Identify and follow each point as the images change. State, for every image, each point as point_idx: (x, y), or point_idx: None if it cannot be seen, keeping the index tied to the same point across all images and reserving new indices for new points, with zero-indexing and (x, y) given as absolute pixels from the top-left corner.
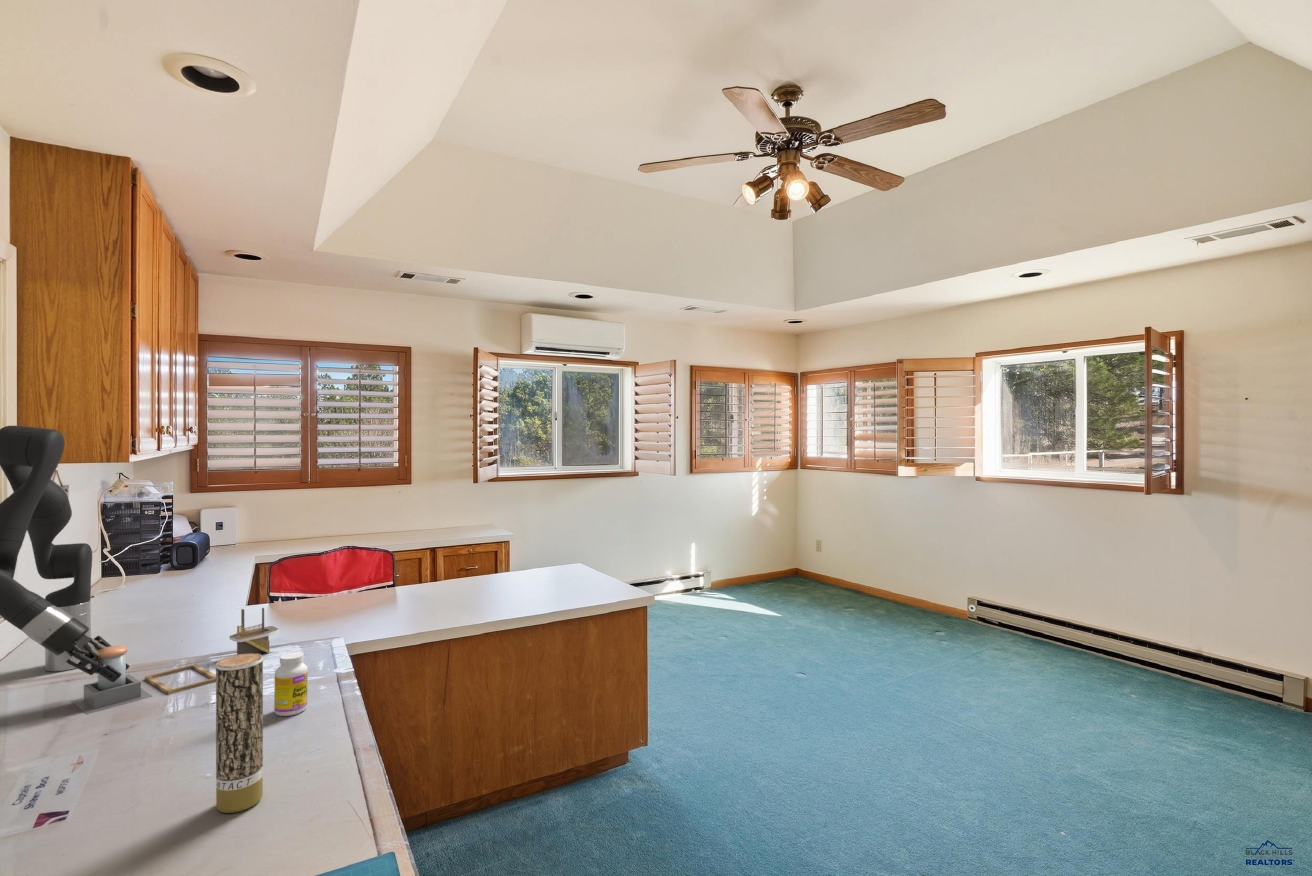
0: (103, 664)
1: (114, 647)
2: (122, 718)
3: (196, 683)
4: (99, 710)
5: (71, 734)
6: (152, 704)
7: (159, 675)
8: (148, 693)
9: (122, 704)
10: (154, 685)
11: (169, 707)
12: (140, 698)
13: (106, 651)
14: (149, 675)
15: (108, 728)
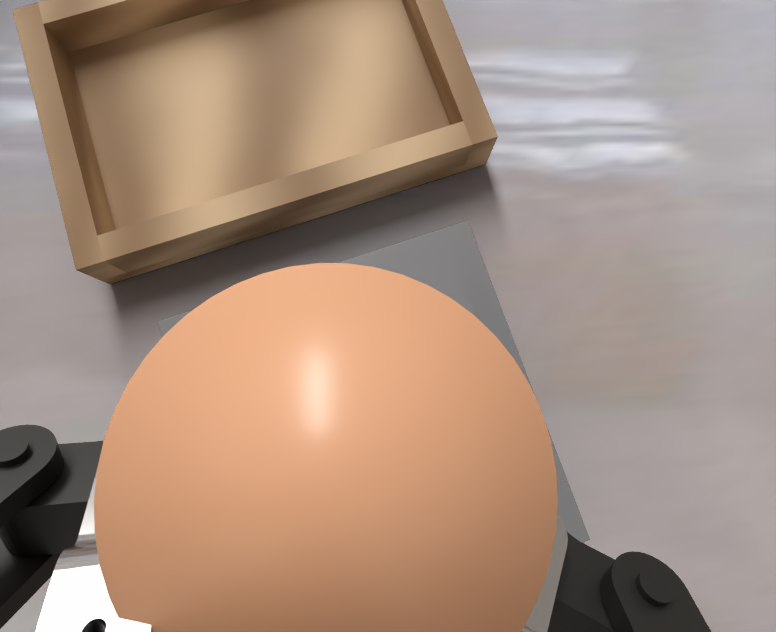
0: (564, 538)
1: (218, 454)
2: (634, 358)
3: (432, 8)
4: (559, 477)
5: (749, 580)
6: (491, 234)
7: (93, 195)
8: (399, 243)
9: (522, 364)
10: (263, 219)
11: (591, 159)
12: (469, 279)
13: (418, 562)
14: (72, 245)
15: (754, 411)
